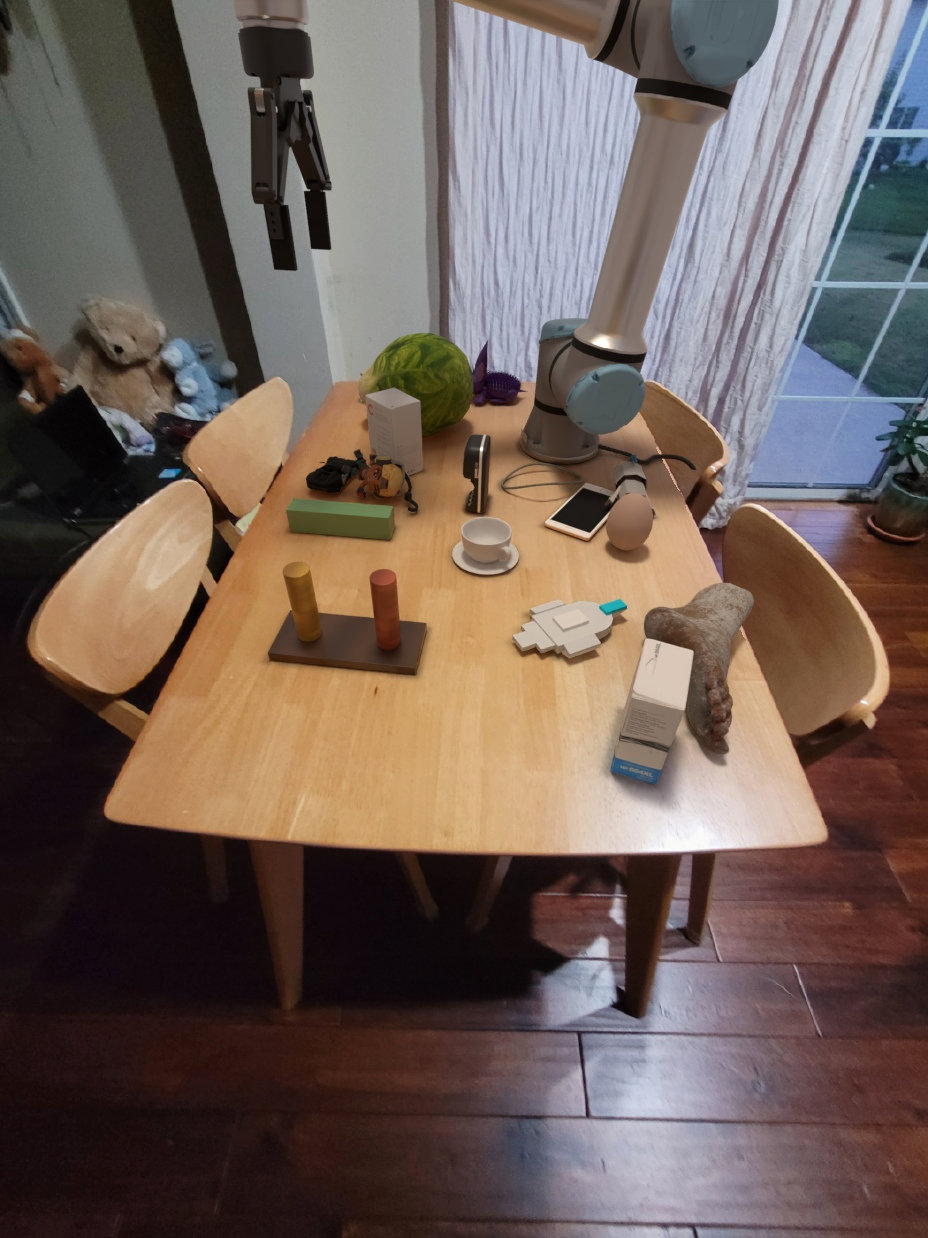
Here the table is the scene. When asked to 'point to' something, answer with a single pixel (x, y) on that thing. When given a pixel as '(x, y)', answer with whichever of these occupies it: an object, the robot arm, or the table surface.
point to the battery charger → (477, 470)
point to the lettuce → (424, 378)
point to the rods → (347, 629)
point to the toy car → (330, 475)
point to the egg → (629, 522)
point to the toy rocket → (568, 626)
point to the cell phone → (583, 512)
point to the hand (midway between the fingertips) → (304, 258)
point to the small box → (396, 427)
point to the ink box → (652, 710)
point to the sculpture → (705, 653)
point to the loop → (541, 483)
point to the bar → (341, 518)
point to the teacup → (485, 546)
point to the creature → (493, 382)
